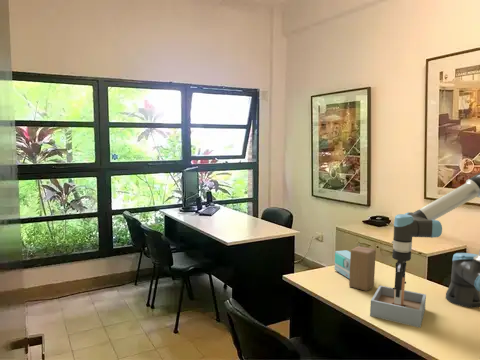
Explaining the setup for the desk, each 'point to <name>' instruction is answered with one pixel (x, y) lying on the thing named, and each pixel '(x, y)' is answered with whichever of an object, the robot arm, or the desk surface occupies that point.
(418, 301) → the bore box
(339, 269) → the radio
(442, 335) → the desk surface
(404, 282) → the peg
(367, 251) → the wooden block
